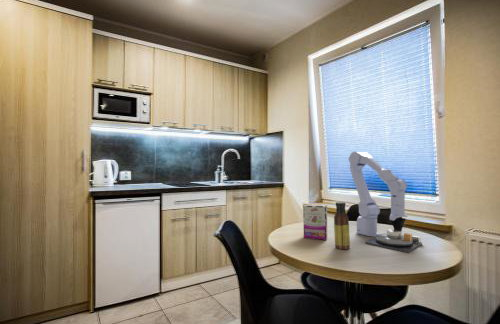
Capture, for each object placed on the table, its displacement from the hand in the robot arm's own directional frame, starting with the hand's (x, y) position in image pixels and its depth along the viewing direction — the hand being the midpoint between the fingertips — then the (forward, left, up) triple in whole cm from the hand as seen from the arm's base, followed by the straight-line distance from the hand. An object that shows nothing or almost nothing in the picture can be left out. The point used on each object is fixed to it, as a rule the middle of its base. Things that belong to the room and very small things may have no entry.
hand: (397, 233), depth 127 cm
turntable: (0, -6, -3) cm, 6 cm away
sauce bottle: (-13, -29, -4) cm, 32 cm away
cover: (0, -5, -1) cm, 5 cm away
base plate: (0, -6, -4) cm, 7 cm away
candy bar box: (-30, -24, -4) cm, 38 cm away
